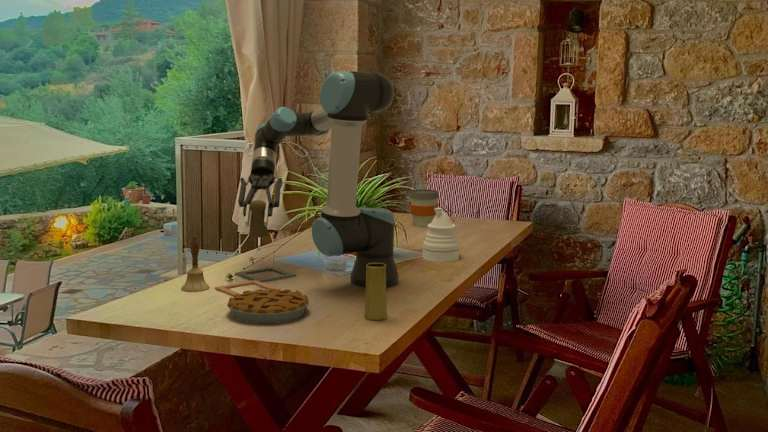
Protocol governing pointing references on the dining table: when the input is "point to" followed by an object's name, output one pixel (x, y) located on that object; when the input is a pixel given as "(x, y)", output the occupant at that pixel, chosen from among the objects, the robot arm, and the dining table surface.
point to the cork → (257, 219)
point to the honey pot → (441, 239)
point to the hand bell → (195, 271)
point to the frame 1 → (226, 287)
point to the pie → (268, 305)
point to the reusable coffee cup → (423, 206)
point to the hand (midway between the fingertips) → (256, 224)
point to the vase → (375, 292)
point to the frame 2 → (245, 275)
